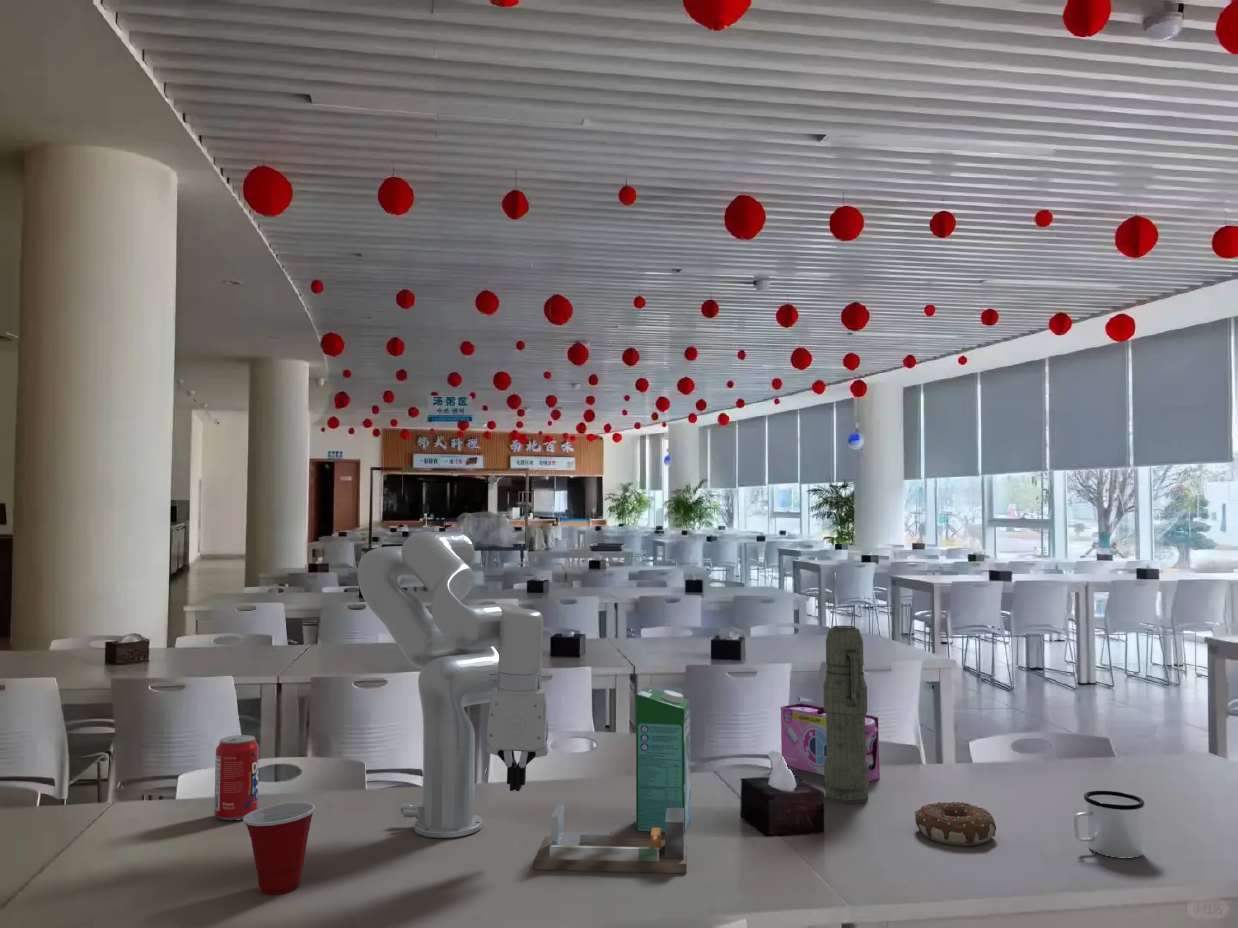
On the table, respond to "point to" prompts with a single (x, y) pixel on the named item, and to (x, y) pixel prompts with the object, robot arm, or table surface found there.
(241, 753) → the soda can
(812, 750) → the gum box
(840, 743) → the thermos
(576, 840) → the plunger
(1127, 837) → the mug
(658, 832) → the pointer
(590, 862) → the base
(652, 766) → the milk carton
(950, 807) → the donut
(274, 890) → the plastic cup
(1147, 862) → the table surface
